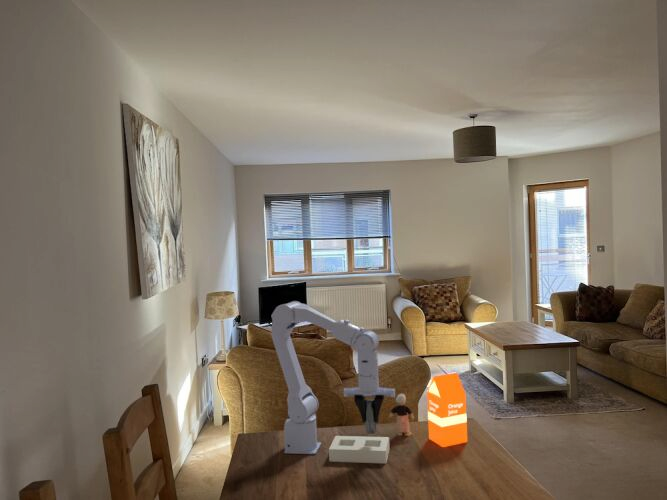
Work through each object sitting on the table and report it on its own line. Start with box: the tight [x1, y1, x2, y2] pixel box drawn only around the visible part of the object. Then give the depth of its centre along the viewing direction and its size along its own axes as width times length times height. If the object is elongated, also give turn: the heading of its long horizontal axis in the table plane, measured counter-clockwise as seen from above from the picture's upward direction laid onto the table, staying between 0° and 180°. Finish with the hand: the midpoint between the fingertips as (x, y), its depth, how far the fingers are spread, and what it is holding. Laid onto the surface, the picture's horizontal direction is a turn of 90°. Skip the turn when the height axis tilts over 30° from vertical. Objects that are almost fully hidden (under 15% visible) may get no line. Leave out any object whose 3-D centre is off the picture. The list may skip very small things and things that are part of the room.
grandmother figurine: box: [389, 393, 415, 437], centre depth 165 cm, size 8×4×13 cm, turn 84°
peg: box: [364, 398, 377, 435], centre depth 150 cm, size 3×3×9 cm
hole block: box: [328, 435, 390, 464], centre depth 151 cm, size 16×10×4 cm, turn 79°
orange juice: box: [426, 372, 468, 448], centre depth 159 cm, size 8×9×20 cm
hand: (370, 421), depth 150 cm, fingers closed on peg, 3 cm apart
